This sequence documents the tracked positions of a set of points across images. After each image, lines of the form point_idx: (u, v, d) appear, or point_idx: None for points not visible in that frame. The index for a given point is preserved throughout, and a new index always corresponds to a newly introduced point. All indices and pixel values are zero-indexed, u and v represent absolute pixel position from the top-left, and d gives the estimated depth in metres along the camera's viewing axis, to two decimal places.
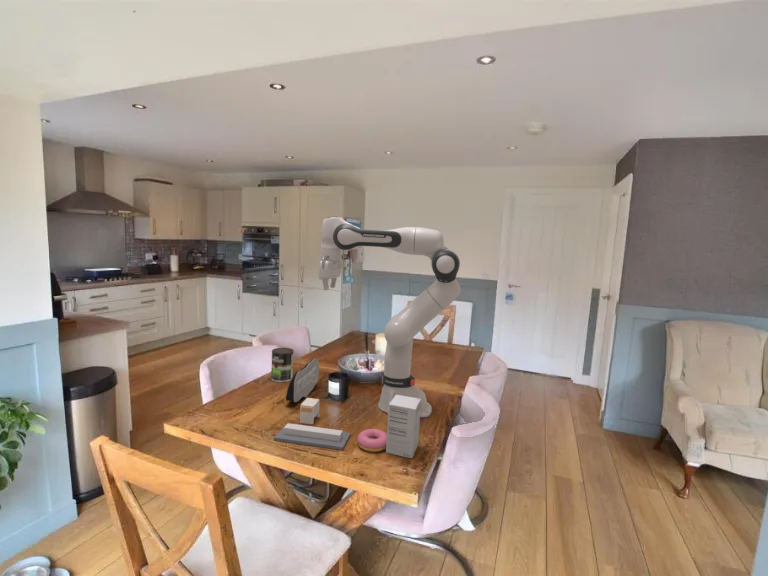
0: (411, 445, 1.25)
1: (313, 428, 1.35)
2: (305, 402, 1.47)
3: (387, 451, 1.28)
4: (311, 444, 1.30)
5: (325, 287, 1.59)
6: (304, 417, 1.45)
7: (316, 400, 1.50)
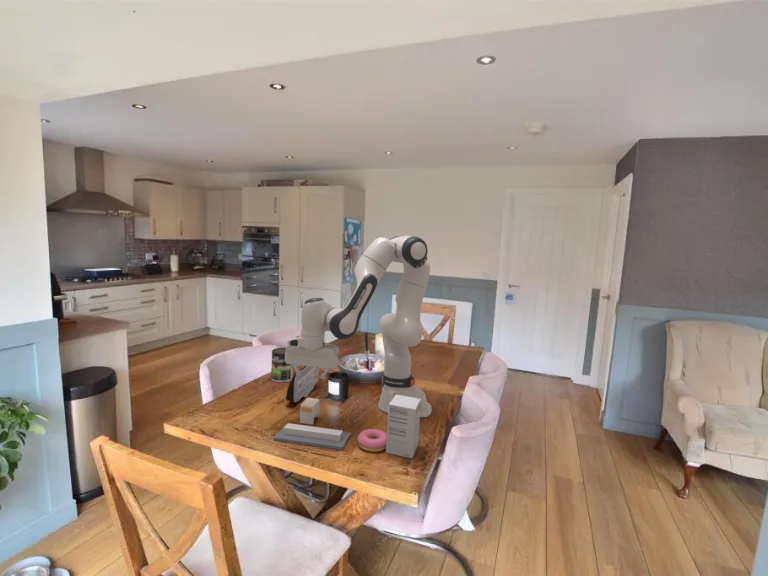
0: (411, 445, 1.25)
1: (313, 428, 1.35)
2: (305, 402, 1.47)
3: (387, 451, 1.28)
4: (311, 444, 1.30)
5: (324, 376, 1.46)
6: (304, 417, 1.45)
7: (316, 400, 1.50)
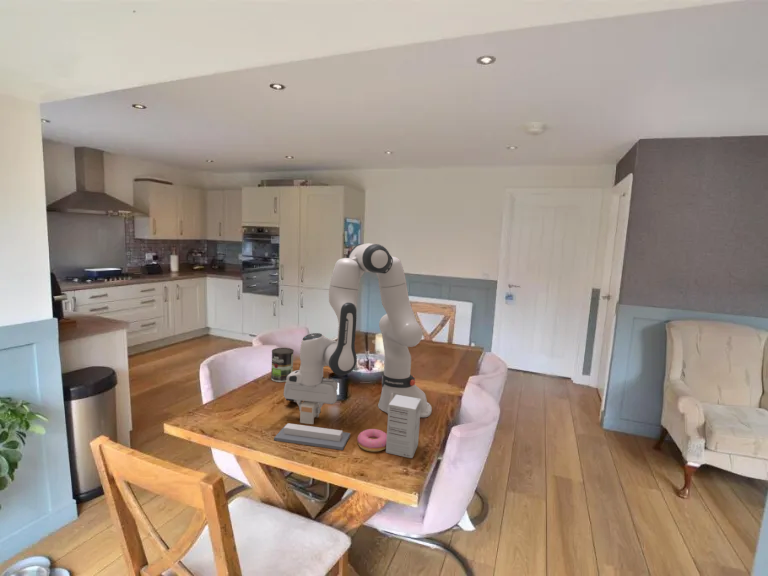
0: (411, 445, 1.25)
1: (313, 428, 1.35)
2: (305, 402, 1.47)
3: (387, 451, 1.28)
4: (311, 444, 1.30)
5: (319, 410, 1.48)
6: (304, 417, 1.45)
7: None
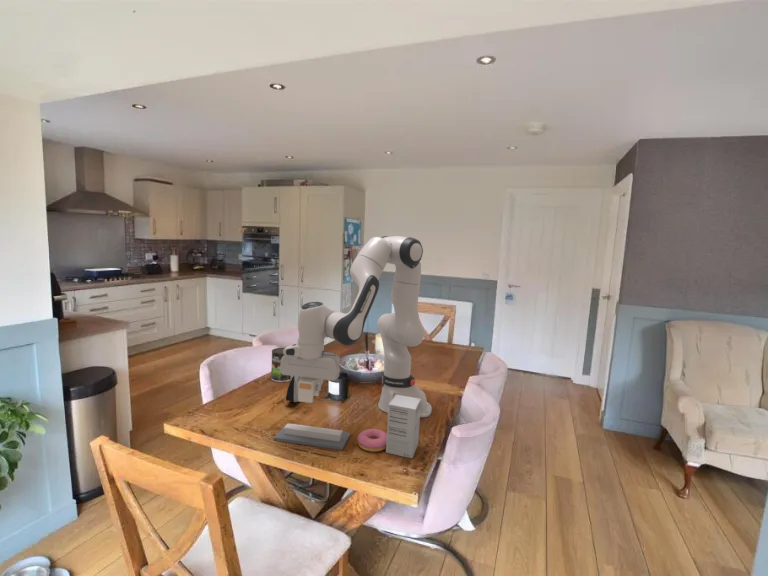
0: (411, 445, 1.25)
1: (313, 428, 1.35)
2: (304, 378, 1.32)
3: (387, 451, 1.28)
4: (311, 444, 1.30)
5: (320, 387, 1.33)
6: (302, 395, 1.30)
7: None
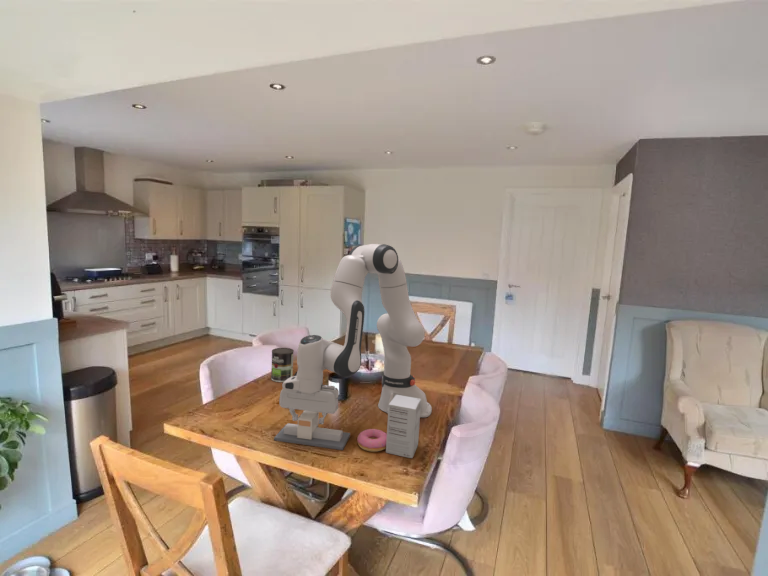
0: (411, 445, 1.25)
1: None
2: (303, 415, 1.34)
3: (387, 451, 1.28)
4: (311, 444, 1.30)
5: (323, 420, 1.34)
6: (302, 431, 1.32)
7: (315, 412, 1.36)
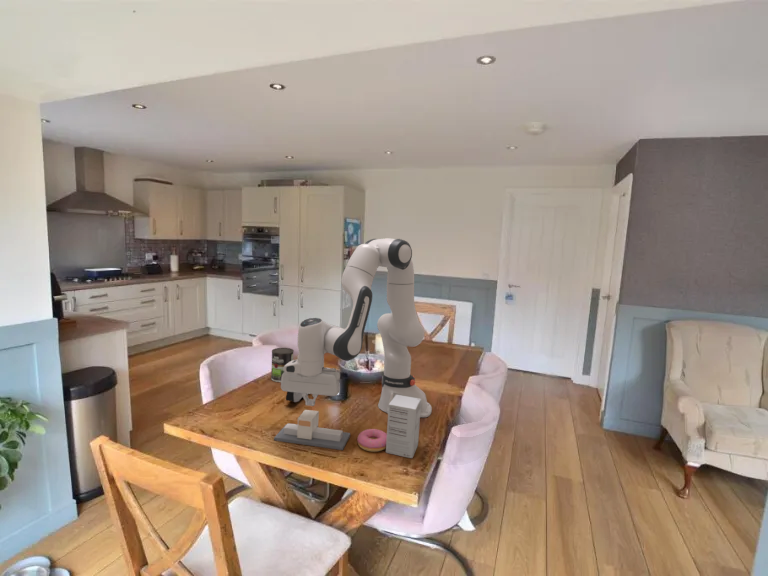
0: (411, 445, 1.25)
1: None
2: (303, 415, 1.34)
3: (387, 451, 1.28)
4: (311, 444, 1.30)
5: (314, 402, 1.34)
6: (302, 431, 1.32)
7: (315, 412, 1.36)
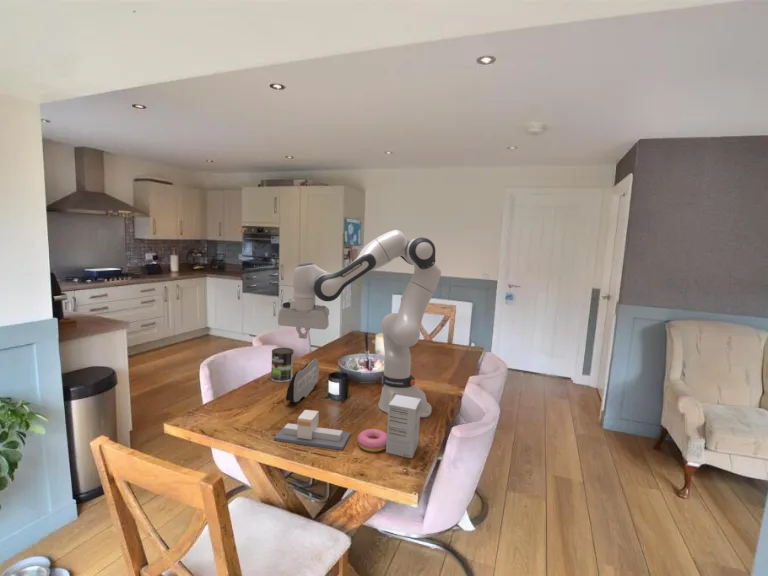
0: (411, 445, 1.25)
1: None
2: (303, 415, 1.34)
3: (387, 451, 1.28)
4: (311, 444, 1.30)
5: (306, 335, 1.56)
6: (302, 431, 1.32)
7: (315, 412, 1.36)
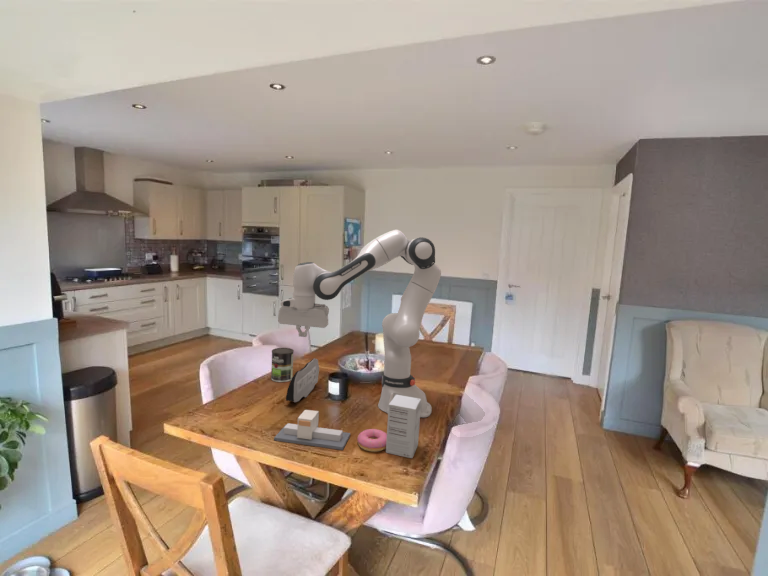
0: (411, 445, 1.25)
1: None
2: (303, 415, 1.34)
3: (387, 451, 1.28)
4: (311, 444, 1.30)
5: (306, 334, 1.57)
6: (302, 431, 1.32)
7: (315, 412, 1.36)
